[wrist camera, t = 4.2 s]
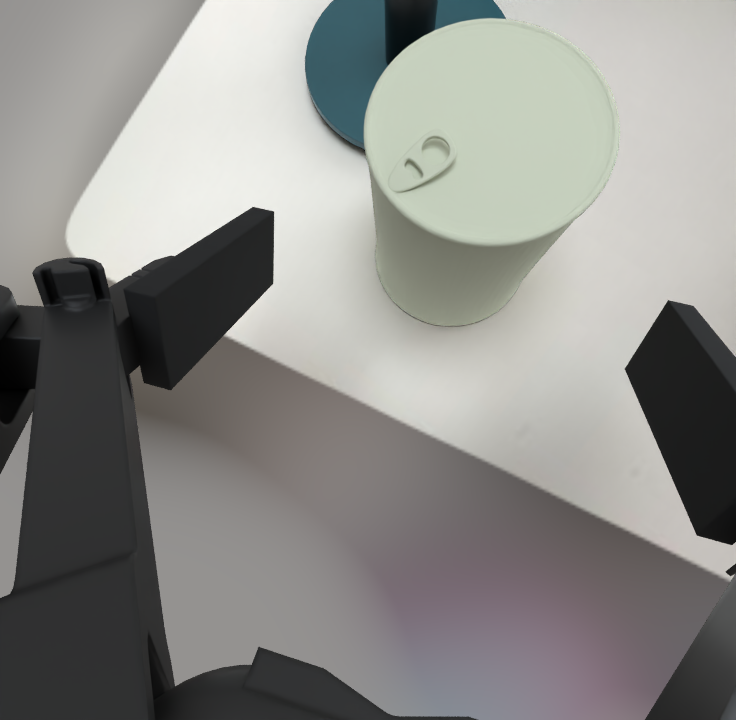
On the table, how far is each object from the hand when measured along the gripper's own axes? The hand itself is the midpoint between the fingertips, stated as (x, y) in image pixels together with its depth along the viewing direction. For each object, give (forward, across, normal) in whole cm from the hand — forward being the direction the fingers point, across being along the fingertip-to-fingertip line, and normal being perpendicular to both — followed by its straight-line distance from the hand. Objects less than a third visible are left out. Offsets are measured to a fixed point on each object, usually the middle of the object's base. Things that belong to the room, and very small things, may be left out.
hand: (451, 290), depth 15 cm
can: (+13, 0, -4) cm, 13 cm away
